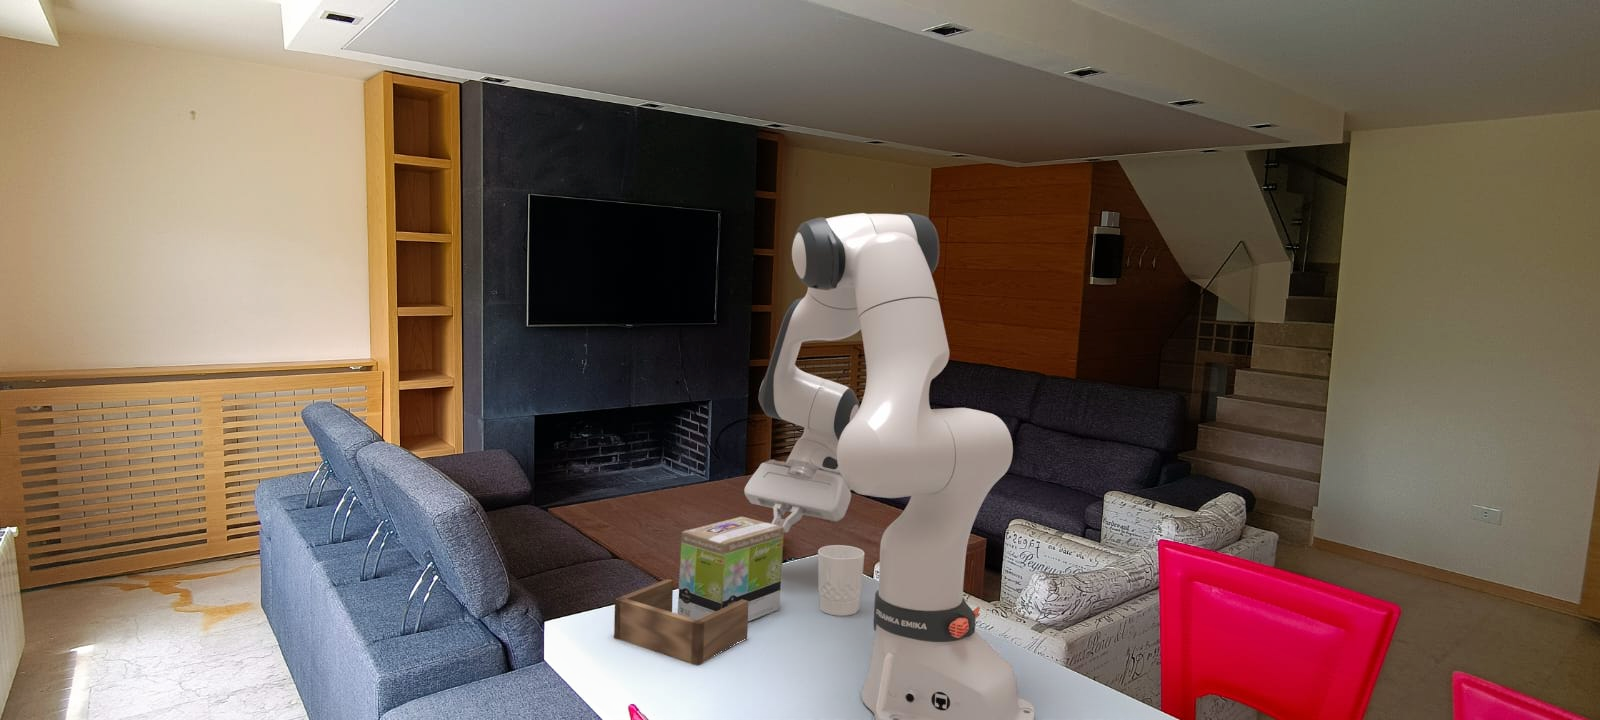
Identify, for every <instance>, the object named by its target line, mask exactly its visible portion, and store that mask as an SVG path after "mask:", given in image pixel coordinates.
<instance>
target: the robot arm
mask: <svg viewBox="0 0 1600 720" xmlns="http://www.w3.org/2000/svg"><path fill="white" fill-rule="evenodd" d="M940 248H941V247H940V239H939V235H938V231H937V229H936V227H935V225H934V223H933V222H932V221H931V220H930V219H929V218H928V217H927V216H925V215H922V214H918V213H911V212H903V213H902V214H897V213H896V214H895V213H865V212H860V213H858V212H857V213H852V214H851V213H850V214H843V215H837V216H832V217H828V218H825V217H823V216H821V217H816V218H812V219H809V220H807V221H803V222H802V223H800V225H799V227H797V229H796V230H795V233H794V238H793V242H792V247H791V259H792V262H793V266H794V267H793V268H794V269H795V272H796V275H797V278H798V280H799V281H800V282H802V284H803V285H805V286H806V287H807V291H806V294H805V295H804V297H802V298H798V299H795V300H794V301H793V302H792V304H791V305H790V306H789V308H788V309H787V310H786V312H785V315H784V316H783V320H782V322H781V324H780V328H779V331H778V334H777V337H776V340H775V344H774V347H773V351H772V354H771V357H770V360H769V364H768V367H767V371H766V373H765V376H764V378H763V380H762V382H761V385H760V388H759V392H758V398H757V399H758V402H759V405H760V407H761V409H762V411H763V413H764V414H765V415H766V416H767V417H769V418H771V419H772V418H773V419H777V420H780V421H785V422H788V423H792V424H794V425H797V426H800V427H802V428H804V429H803V433H802V435H801V437H799V438H798V439H797V441H796V442H795V444H794V446H793V448H792V450H791V452H790V454H789V455H788V457H787V459H786V461H783V460H782V461H781V460H780V461H779V460H776V459H769V460H766V461H765V462H762V463H760V465H759V467H758V468H757V469H756V471H755V472H754V473H753V474H752V475H751V477H750V479H749V480H748V482H747V483H746V485H745V487H744V489H743V492H744V496H745V497H746V499H747V500H748V501H749V503H750V504H752V505H757V506H762V507H767V508H771V509H772V510H773V519H772V521H771V523H770V524H774V525H778V526H781V527H784V531H783V533H787V534H788V532H789V531H790V529H791V527H792V526H793V525H795V524H796V523H797V522H799V521H801V519H802V518H803V515H805V516H808V517H813V518H818V519H821V520H822V519H823V520H827V521H832V522H839V521H840V520H842V519H843V518H844V517H845V515H846V513H847V510H848V507H849V505H850V502H851V499H852V492H851V491H853V492H855V493H856V494H858V495H863V496H870V497H875V498H876V497H877V498H885V499H896V498H897V499H899V498H904V497H906V498H907V497H910V498H909V501H908V503H907V505H906V506H905V508H904V510H903V512H902V513H900V515H899V517H897V518H896V519H895V520H893V522H891V524H889V525H888V526H887V528H886V529H885V531H883V534H882V536H881V540H880V546H879V547H880V548H879V569H878V570H879V571H878V573H879V574H878V575H879V576H878V589H877V590H876V591H875V595H874V606H873V630H874V640H873V647H872V653H871V658H870V663H869V667H868V671H867V675H866V678H865V681H864V684H863V687H862V690H861V694H860V695H861V700H862V702H863V704H864V705H865V707H867V708H868V709H869V710H870V711H871V712H872V713H873V715H874V720H1036V712H1035V708H1034V706H1033V704H1032V703H1031V702H1030V701H1028V700H1026V699H1023V698H1020V697H1019V692H1018V683H1017V678H1016V673H1015V670H1014V669H1013V668H1014V667H1013V666H1012V665H1011V664H1010V663H1009V662H1008V661H1007V660H1006V659H1005V658H1004V657H1003V656H1002V655H1001V654H1000V653H999V652H998V651H996V650H995V648H993V647H992V645H990V643H988V642H987V641H986V640H985V639H984V637H982V636H981V635H980V634H979V633H978V632H977V631H976V620H977V618H978V617H979V616H980V610H981V608H980V606H977V607H976V608H974V609H972V608H971V607H970V606H969V605H968V603H967V602H966V600H965V598H964V597H963V595H964V594H963V593H964V582H965V581H964V579H965V568H966V556H967V550H968V542H969V538H970V536H971V535H970V534H971V531H972V528H973V525H974V522H975V521H976V518H977V516H978V513H979V510H980V508H981V506H982V504H983V502H984V501H985V498H986V497H987V495H988V494H989V492H990V491H991V489H992V488H993V486H994V485H995V484H996V483H997V482H999V480H1000V479H1001V478H1002V477H1003V476H1005V474H1006V473H1007V472H1008V470H1009V469H1010V466H1011V464H1012V460H1013V454H1014V446H1013V440H1012V436H1011V433H1010V431H1009V428H1008V427H1007V424H1006V423H1005V422H1004V421H1003V420H1002V419H1001V418H1000V417H999V416H998V415H995V414H993V413H992V412H991V413H990V412H987V411H982V410H979V409H972V408H967V407H953V408H952V407H951V408H949V407H948V408H933V409H931V406H930V387H931V383H932V381H933V379H935V378H936V377H937V376H938V375H939V374H940V373H942V372H943V370H944V368H946V366H947V364H948V362H949V359H950V348H949V343H948V337H947V334H946V333H947V332H946V328H945V323H944V320H943V315H942V311H941V305H940V301H939V296H938V292H937V288H936V284H935V281H934V279H933V276H932V275H933V273H934V272H935V270H936V269H937V267H938V264H939V260H940V250H941V249H940ZM859 331H861V337H862V342H863V344H862V345H863V350H864V351H863V352H864V358H865V366H866V378H865V379H866V382H865V389H864V394H863V397H862V400H861V404H860V402H859V399H858V397H857V395H856V393H855V392H854V390H853V389H852V387H851V388H850V387H848V386H846V385H845V384H844V385H843V384H842V383H838V382H836V381H833V380H829V379H826V378H823V377H819V376H817V375H814V374H811V373H808V372H805V371H803V370H801V369H800V368H798V367H797V365H796V362H797V358H798V355H799V352H800V349H801V346H802V343H804V342H809V341H831V342H832V341H839V340H843V339H847V338H849V337H851V336H853V335H855V334H857V333H858V332H859ZM786 512H790V514H789V515H787V517H786V518H782V516H784V515H785V514H786Z"/></svg>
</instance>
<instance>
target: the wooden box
mask: <svg viewBox="0 0 1600 720" xmlns="http://www.w3.org/2000/svg"><path fill="white" fill-rule="evenodd" d="M673 589H674V580H672V579H669V578H667V579H663V580H661V581H659V582H656V583H653V584H651V585H648V586H645V587H643V588H640V589H638V590H635V591H633V592H630V593H628V594H624V595H623V596H620V597H617V598H615V599H614V620H613V621H614V622H613V623H614V624H613V625H614V626H613V628H614V629H613V630H614V631H613V638H614V639H617V640H621V641H623V642H627V643H629V644H633V645H637V646H639V647H642V648H644V649H648V650H650V651H654V652H657V653H659V654H662V655H665V656H668V657H671V658H675V659H678V660H681V661H684V662H687V663H690V664H692V665H695V666H700V665H701V664H703V663H705V662H706V660H707V659H709V658H710V659H712V658H714V657H715V656H714V655H716V654H718V653H720V652H721V651H723V652H725V651H726V650H725V649H727V648H729V647H730V646H733V645H734V644H736V643H737V642H740V641H742V640H744V639H746V638H747V639H748V629H749V628H748V625H749V623H748V622H749V621H748V601H747V600H743V599H742V600H739V601H737V602H735V603H733V604H731V605H729V606H727V607H724V608H722V609H720V610H718V611H716V612H714V613H712V614H709V615H707V616H705V617H703V618H701V619H699V620H696V619H693V618H689V617H686V616H683V615H679V614H678V613H676V612H673V595H674V591H673ZM747 639H746V640H747ZM744 641H745V640H744ZM742 642H743V641H742ZM740 643H741V642H740ZM733 647H734V646H733ZM729 649H730V648H729ZM724 650H725V651H724ZM727 650H728V649H727ZM720 654H721V653H720ZM718 655H719V654H718ZM713 656H714V657H713ZM716 656H717V655H716ZM711 657H712V658H711ZM710 659H709V660H710ZM704 661H705V662H704ZM707 661H708V660H707ZM702 662H703V663H702Z"/></svg>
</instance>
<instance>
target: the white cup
mask: <svg viewBox="0 0 1600 720" xmlns="http://www.w3.org/2000/svg"><path fill="white" fill-rule="evenodd" d="M864 562H865V551H864V550H862V549H861V548H858V547H856V546H851V545H843V544H833V545H825V546H822V547H819V549H818V550H817V577H818V578H817V579H818V581H817V582H818V585H817V587H818V595H819V598H818V601H819V602H818V607H819V610H820V612H823V613H824V614H827V615H831V616H837V617H839V616H840V617H843V616H844V617H845V616H851V615H855V614H857V612H858V611H859V609H860V599H861V597H860V596H861V592H862V584H863V573H864Z"/></svg>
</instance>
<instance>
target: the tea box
mask: <svg viewBox="0 0 1600 720" xmlns="http://www.w3.org/2000/svg"><path fill="white" fill-rule="evenodd" d="M783 531H784V527H781V526H778V525H774V524H771V523H770V522H766V521H761V520H757V519H754V518H749V517H746V516H739V517H734V518H730V519H726V520H723V521H718V522H715V523H714V522H713V523H710V524H707V525H703V526H699V527H695V528H690V529H686V530H683V531H682V532H681V542H680V543H681V544H680V545H681V546H680V561H679V562H680V563H679V579H678V598H677V599H678V600H677V614H679V615H683V616H686V617H689V618H693V619H696V620H699V619H701V618H703V617H705V616H707V615H709V614H712V613H714V612H716V611H718V610H720V609H722V608H724V607H727V606H729V605H731V604H733V603H735V602H737V601H739V600H742V599H743V600H747V601H748V622H749V621H750V622H751V621H752V620H755V619H758V618H760V617H763V616H766V614H767V615H769V614H771V613H774V611H775V612H777V611H776V610H778V611H779V610H780V605H781V604H780V603H781V586H782V565H783V550H784V549H783V548H784V533H785V532H783Z"/></svg>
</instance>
